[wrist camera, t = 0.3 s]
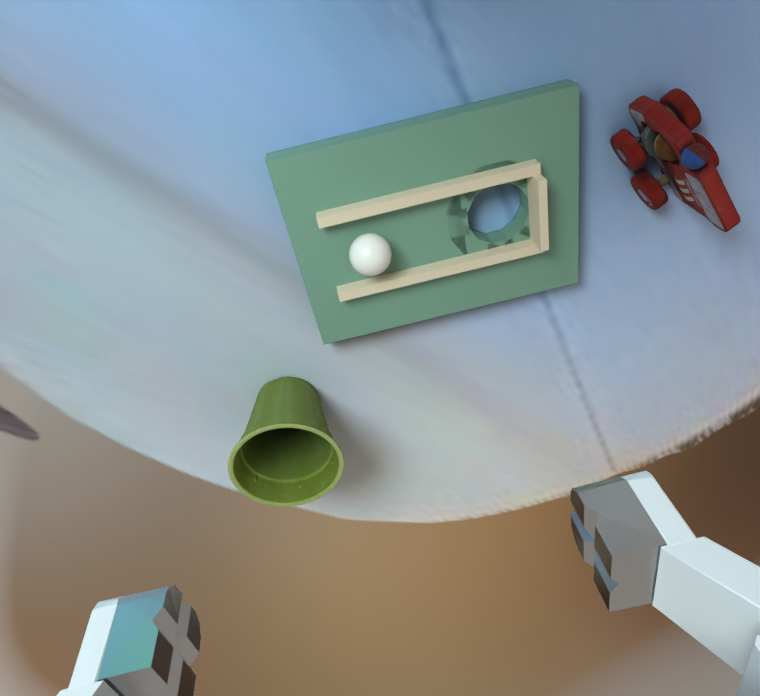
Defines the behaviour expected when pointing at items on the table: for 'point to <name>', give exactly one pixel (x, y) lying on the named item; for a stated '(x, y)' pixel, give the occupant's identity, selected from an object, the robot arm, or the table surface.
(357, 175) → the putting mat
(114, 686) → the robot arm
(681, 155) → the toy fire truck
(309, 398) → the plant pot
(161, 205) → the table surface
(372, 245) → the ball
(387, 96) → the table surface
